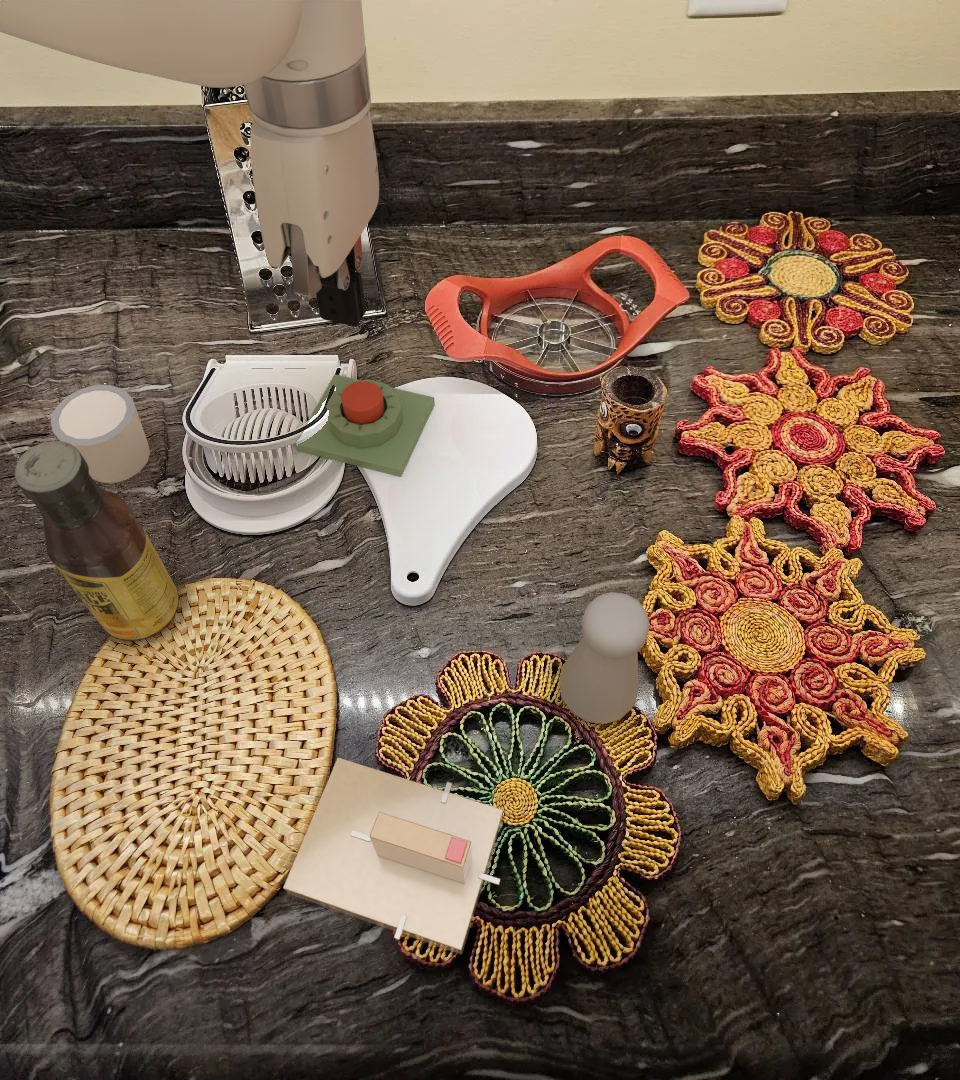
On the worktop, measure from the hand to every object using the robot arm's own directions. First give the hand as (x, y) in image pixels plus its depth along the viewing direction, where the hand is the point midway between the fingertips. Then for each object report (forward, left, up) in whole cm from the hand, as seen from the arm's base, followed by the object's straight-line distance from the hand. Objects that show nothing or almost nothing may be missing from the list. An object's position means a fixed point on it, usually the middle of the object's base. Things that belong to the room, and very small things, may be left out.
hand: (343, 316), depth 67 cm
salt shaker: (+26, -19, -15) cm, 35 cm away
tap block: (+16, -34, -15) cm, 41 cm away
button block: (0, 0, -15) cm, 15 cm away
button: (0, 0, -11) cm, 11 cm away
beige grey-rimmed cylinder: (-20, -10, -15) cm, 27 cm away
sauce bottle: (-10, -23, -15) cm, 29 cm away
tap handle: (+18, -34, -12) cm, 40 cm away
